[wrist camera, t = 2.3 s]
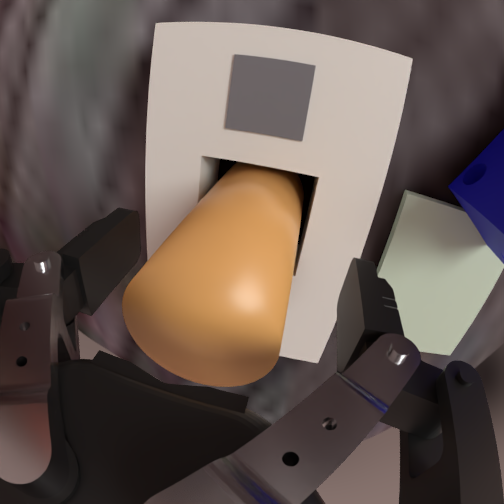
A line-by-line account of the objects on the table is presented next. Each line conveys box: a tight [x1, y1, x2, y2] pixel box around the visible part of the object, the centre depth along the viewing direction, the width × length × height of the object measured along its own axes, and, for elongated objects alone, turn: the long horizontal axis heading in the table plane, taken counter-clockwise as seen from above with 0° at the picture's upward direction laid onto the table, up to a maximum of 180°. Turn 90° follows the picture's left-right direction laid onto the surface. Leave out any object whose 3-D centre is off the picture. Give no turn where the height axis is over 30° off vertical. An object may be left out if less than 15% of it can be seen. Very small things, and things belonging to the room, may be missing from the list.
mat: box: [376, 190, 504, 355], centre depth 16 cm, size 10×8×1 cm
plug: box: [122, 161, 304, 387], centre depth 12 cm, size 4×4×10 cm
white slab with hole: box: [145, 22, 413, 363], centre depth 15 cm, size 16×10×3 cm, turn 172°
